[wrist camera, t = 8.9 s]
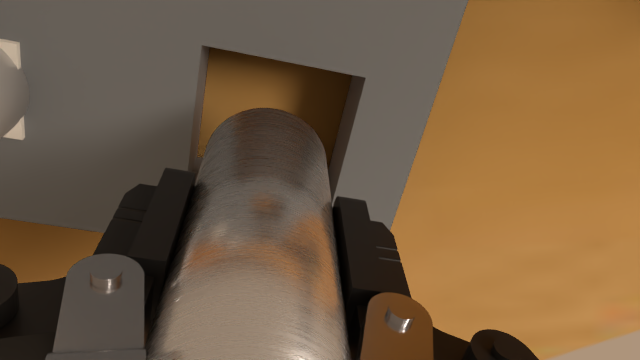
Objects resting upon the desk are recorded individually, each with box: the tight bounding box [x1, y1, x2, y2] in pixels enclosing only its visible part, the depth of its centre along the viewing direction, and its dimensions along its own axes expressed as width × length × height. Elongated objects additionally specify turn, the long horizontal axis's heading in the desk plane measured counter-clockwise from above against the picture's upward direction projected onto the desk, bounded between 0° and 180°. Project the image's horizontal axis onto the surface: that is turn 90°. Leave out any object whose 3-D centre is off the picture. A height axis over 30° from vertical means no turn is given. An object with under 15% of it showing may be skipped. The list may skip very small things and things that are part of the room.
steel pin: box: [144, 108, 351, 360], centre depth 11 cm, size 4×4×10 cm
